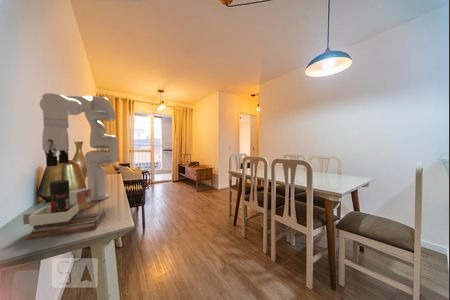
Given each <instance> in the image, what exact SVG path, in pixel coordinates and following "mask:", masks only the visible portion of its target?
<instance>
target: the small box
mask: <svg viewBox="0 0 450 300" xmlns="http://www.w3.org/2000/svg"><path fill="white" fill-rule="evenodd" d="M69 196H70V204H77V203H78V208H79V212H80V211H82V210H86V209H88V208H90V207H92V201H91V189H88V187H87V188H85V187H83V188H80V189H76V190H72V191H69Z"/></svg>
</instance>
